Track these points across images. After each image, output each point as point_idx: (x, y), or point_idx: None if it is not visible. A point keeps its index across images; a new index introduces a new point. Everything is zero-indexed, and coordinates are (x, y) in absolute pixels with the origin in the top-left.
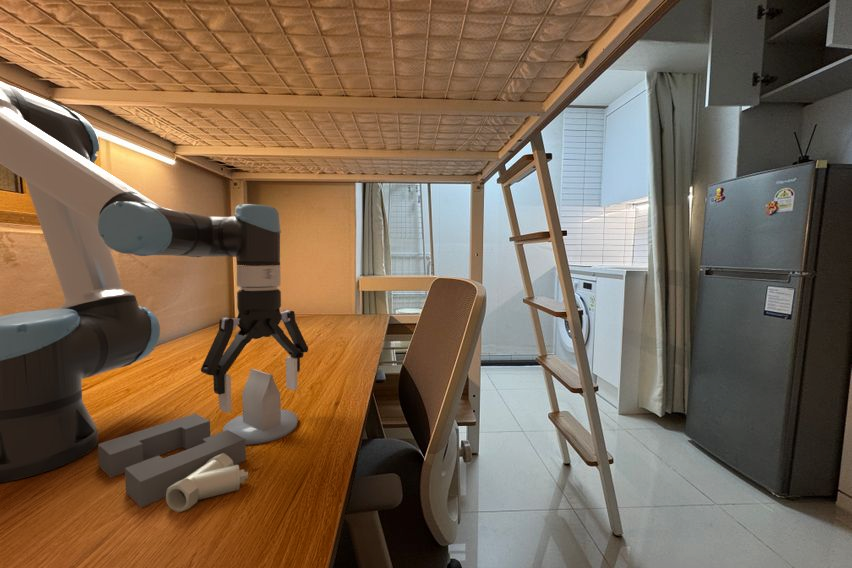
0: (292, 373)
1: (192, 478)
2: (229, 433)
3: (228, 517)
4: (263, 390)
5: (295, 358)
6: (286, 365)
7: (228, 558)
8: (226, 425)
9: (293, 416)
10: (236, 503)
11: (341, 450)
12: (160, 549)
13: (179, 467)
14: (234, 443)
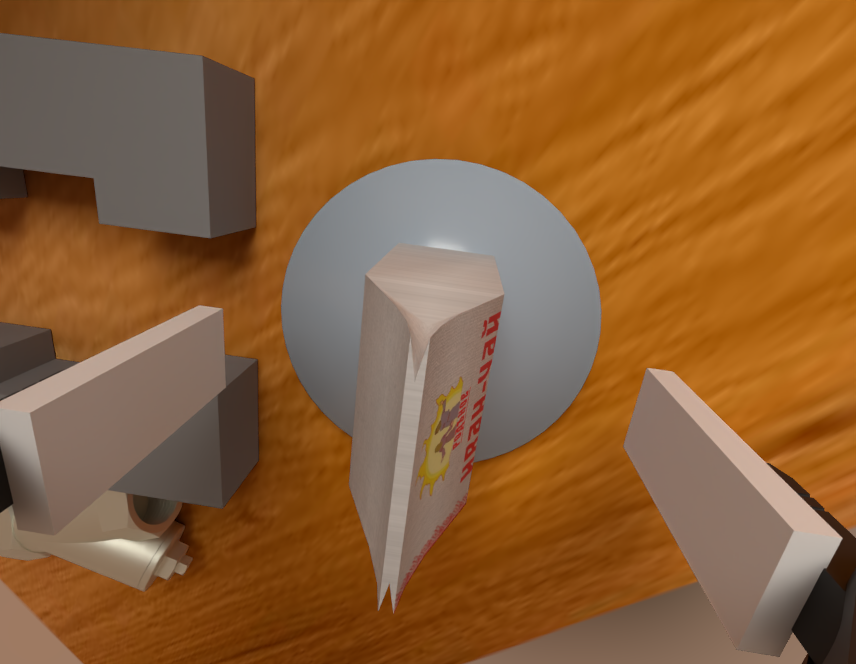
0: (673, 508)
1: (31, 545)
2: (206, 427)
3: (121, 594)
4: (361, 500)
5: (771, 644)
6: (730, 474)
7: (82, 659)
8: (333, 207)
9: (553, 403)
10: None
11: (450, 643)
12: (5, 560)
13: None
14: (183, 500)
